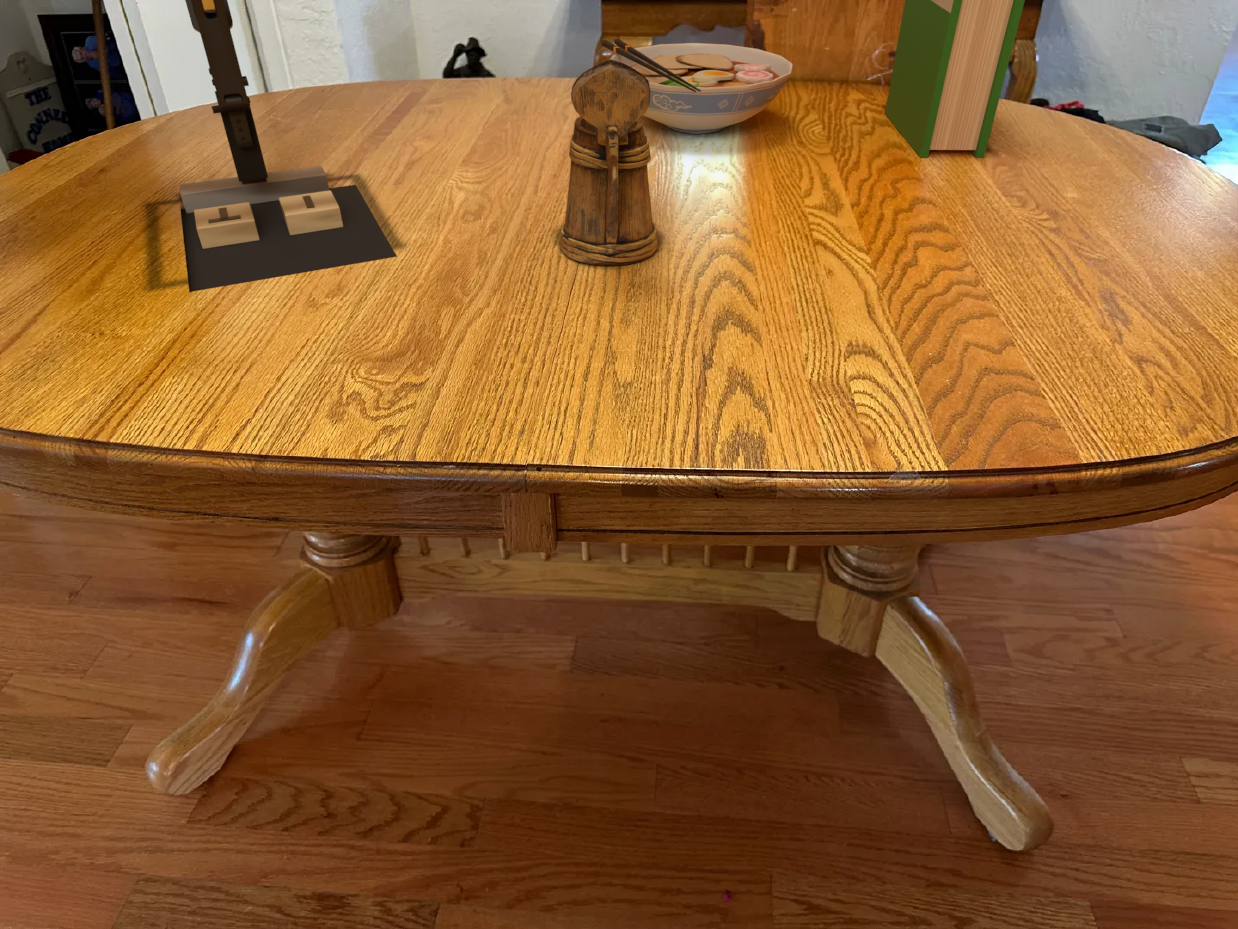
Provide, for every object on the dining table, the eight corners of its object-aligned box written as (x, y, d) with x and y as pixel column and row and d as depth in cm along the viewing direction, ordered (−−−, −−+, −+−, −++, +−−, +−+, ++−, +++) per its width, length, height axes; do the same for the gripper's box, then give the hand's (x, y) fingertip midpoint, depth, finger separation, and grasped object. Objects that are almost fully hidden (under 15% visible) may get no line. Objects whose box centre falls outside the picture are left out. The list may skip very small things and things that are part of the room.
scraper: (185, 203, 87) (145, 78, 80) (325, 183, 92) (300, 63, 84) (186, 213, 85) (145, 85, 78) (330, 193, 90) (304, 70, 82)
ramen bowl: (826, 143, 103) (837, 70, 98) (652, 167, 96) (654, 90, 91) (730, 92, 121) (735, 28, 116) (578, 108, 114) (576, 42, 109)
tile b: (283, 217, 84) (278, 196, 83) (334, 209, 86) (330, 188, 85) (290, 235, 81) (284, 214, 80) (343, 227, 82) (339, 206, 81)
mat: (153, 214, 85) (153, 213, 85) (356, 185, 92) (355, 184, 92) (157, 298, 71) (156, 296, 71) (396, 257, 77) (396, 255, 77)
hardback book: (984, 157, 99) (1047, -89, 84) (919, 157, 99) (972, -89, 84) (940, 113, 113) (989, -104, 98) (884, 113, 113) (924, -104, 98)
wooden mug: (557, 291, 72) (547, 60, 61) (561, 227, 82) (552, 21, 71) (663, 290, 72) (672, 59, 61) (653, 226, 83) (659, 20, 72)
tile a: (199, 229, 82) (193, 208, 81) (254, 221, 84) (249, 200, 82) (203, 249, 78) (196, 227, 77) (260, 240, 80) (254, 218, 79)
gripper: (234, -99, 67) (301, 193, 81) (217, -116, 80) (277, 135, 95) (128, -95, 64) (217, 205, 78) (130, -113, 78) (204, 144, 92)
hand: (249, 166), depth 86 cm, fingers open, 6 cm apart
